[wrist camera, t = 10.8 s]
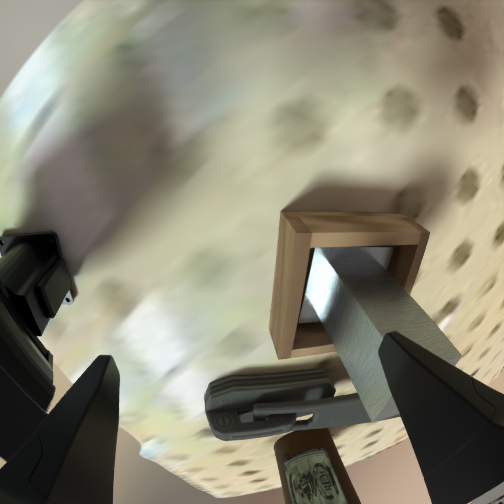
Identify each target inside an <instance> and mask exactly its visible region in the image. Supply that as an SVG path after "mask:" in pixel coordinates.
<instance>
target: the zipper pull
mask: <svg viewBox="0 0 504 504" xmlns="http://www.w3.org/2000/svg"><path fill="white" fill-rule="evenodd" d="M335 392H336V390H335V387H334V385H333V383H332V380H331V378H330V376H329V375H328V374H327V372H326V371H325V369H324V368H316V369H308V370H299V371H290V372H279V373H267V374H250V375H231V376H229V377H226V378H223V379H220V380H217V381H214V382H211V383H209V385H208V388H207V390H206V393H205V396H204V400H205V412H206V416H207V419H208V422H209V425H210V427H211V430H212V433H213V434H214V436H215V437H216V438H218V439H221V440H223V441H232V440H244V439H252V438H260V437H267V436H273V435H277V434H282V433H287V432H290V431H295V430H307V429H319V428H330V427H339V426H347V425H355V424H362V423H368V422H372V421H371V419H370V417H369V415H368V413H367V411H366V409H365V407H364V405H363V403H362V401H361V399H360V397H359V395H358V393H353V394H348V395H342V396H336V397H334V394H335ZM309 414H313V416H312V417H310V418H309V419H307V420H298V421H296V418H297V417H301V416H305V415H309ZM396 417H401V416H400V414H397V415H394V416H391V417H388V418H385V419H382V420H386V419H391V418H396ZM379 421H381V420H379Z"/></svg>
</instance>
